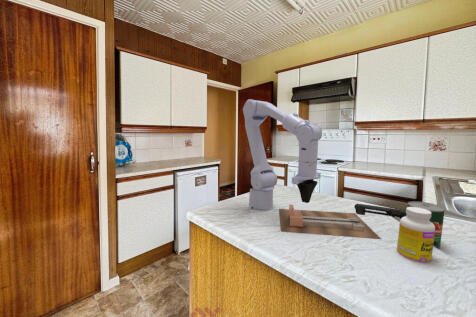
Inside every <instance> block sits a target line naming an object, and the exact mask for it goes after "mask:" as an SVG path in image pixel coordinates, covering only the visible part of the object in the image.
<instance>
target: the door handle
mask: <svg viewBox="0 0 476 317" xmlns="http://www.w3.org/2000/svg"><path fill="white" fill-rule="evenodd" d="M353 206H354V207H353V208H354V209H355V214H356V215H359V216H365V215H366V213H369V214H376V215H382V216H387V217H392V218H393V219H394V220H396V221H397V222H399V223H400V219H401V218H402V217H405V216H407V214H406V209H399V208H392V207H387V206H386V207H385V206H378V205H370V204H363V203H355V204H354V205H353Z"/></svg>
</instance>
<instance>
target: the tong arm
mask: <svg viewBox="0 0 476 317" xmlns="http://www.w3.org/2000/svg"><path fill="white" fill-rule="evenodd" d="M303 219H307V220H322V221H337V222H352V223H360V221H359V220H358V219H357V218H347V219H343V218H327V217H312V216H303Z"/></svg>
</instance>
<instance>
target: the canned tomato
mask: <svg viewBox="0 0 476 317" xmlns="http://www.w3.org/2000/svg"><path fill="white" fill-rule="evenodd" d="M407 207H418V208H423V209H426V210H429V211H430V212H431V218H430V219H429V221H430V222H432V223H433V224H434V226H435V235H434V243H433V247H435V248H437V250H440V249H441V243H442V236H443V234H442V233H443V227H444V226H443V225H444V220H445V219H444V218H445V210H446V208H444V207H443V206H441V205H438V204H435V203H430V202H426V201H408V202H407Z"/></svg>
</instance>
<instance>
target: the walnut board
mask: <svg viewBox="0 0 476 317" xmlns="http://www.w3.org/2000/svg"><path fill="white" fill-rule="evenodd" d="M300 210H301V213H302V216H312V217H327V218H343V219H347V218H357V219H358V220H359V221H360V223H361V224H362V225H363V226H364V231H353V230H352V229H339V228H325V227H311V226H303V227H298V226H290V218H288V213H289V208H288V209H287V208H278V212H279V213H278V215H279V223H280V224H279V227H280V233H281V232H283V233H285V232H286V233H296V234H309V235H319V236H320V235H321V236H332V237H333V236H335V237H344V238H345V237H346V238H359V239H373V240H382V237H380V236H379V235H378V234H377V232H375V231H374V230H373V229H372V228H371V227H370V226H369V225H368V224H367V223H366V222H365V221H363V219H361V217H359V216H358V214H356V212H338V211H323V210H322V211H321V210H309V209H308V210H307V209H306V210H304V209H300Z"/></svg>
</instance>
